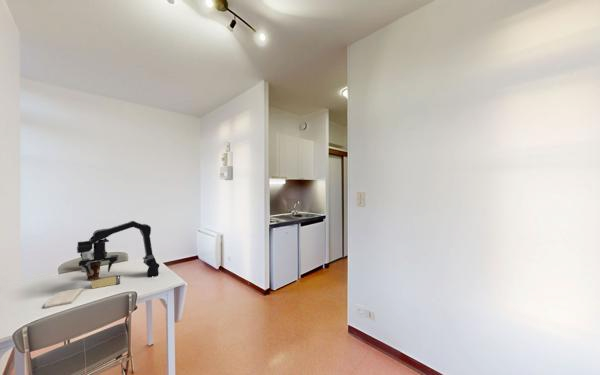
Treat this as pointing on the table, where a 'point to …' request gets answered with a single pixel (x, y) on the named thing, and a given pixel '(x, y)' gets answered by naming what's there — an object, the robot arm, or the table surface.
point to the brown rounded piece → (94, 270)
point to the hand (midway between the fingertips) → (99, 273)
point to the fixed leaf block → (105, 277)
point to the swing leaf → (106, 281)
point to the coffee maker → (86, 255)
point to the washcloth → (64, 298)
